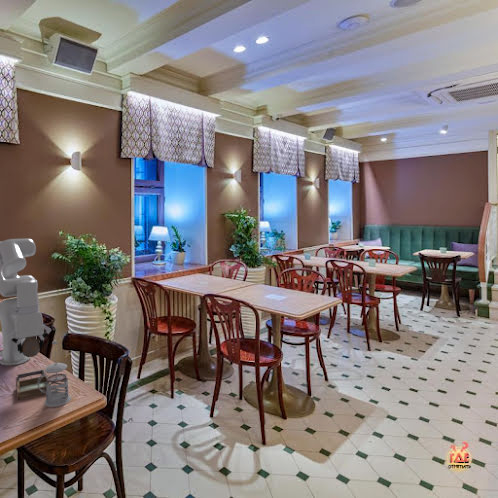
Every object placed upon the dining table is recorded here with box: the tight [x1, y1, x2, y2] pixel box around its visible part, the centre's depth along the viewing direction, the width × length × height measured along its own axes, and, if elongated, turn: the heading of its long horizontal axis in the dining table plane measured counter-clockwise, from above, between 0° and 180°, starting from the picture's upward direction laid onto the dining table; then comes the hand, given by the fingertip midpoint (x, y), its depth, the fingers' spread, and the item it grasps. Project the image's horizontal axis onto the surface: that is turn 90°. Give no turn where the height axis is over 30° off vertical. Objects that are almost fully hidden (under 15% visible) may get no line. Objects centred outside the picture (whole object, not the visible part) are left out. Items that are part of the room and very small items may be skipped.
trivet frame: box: [17, 369, 45, 381], centre depth 169 cm, size 10×10×1 cm
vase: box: [22, 336, 40, 358], centre depth 159 cm, size 7×7×9 cm
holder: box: [16, 374, 51, 401], centre depth 159 cm, size 12×12×3 cm
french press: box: [37, 340, 72, 408], centre depth 149 cm, size 10×12×25 cm
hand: (31, 350), depth 159 cm, fingers closed on vase, 6 cm apart
